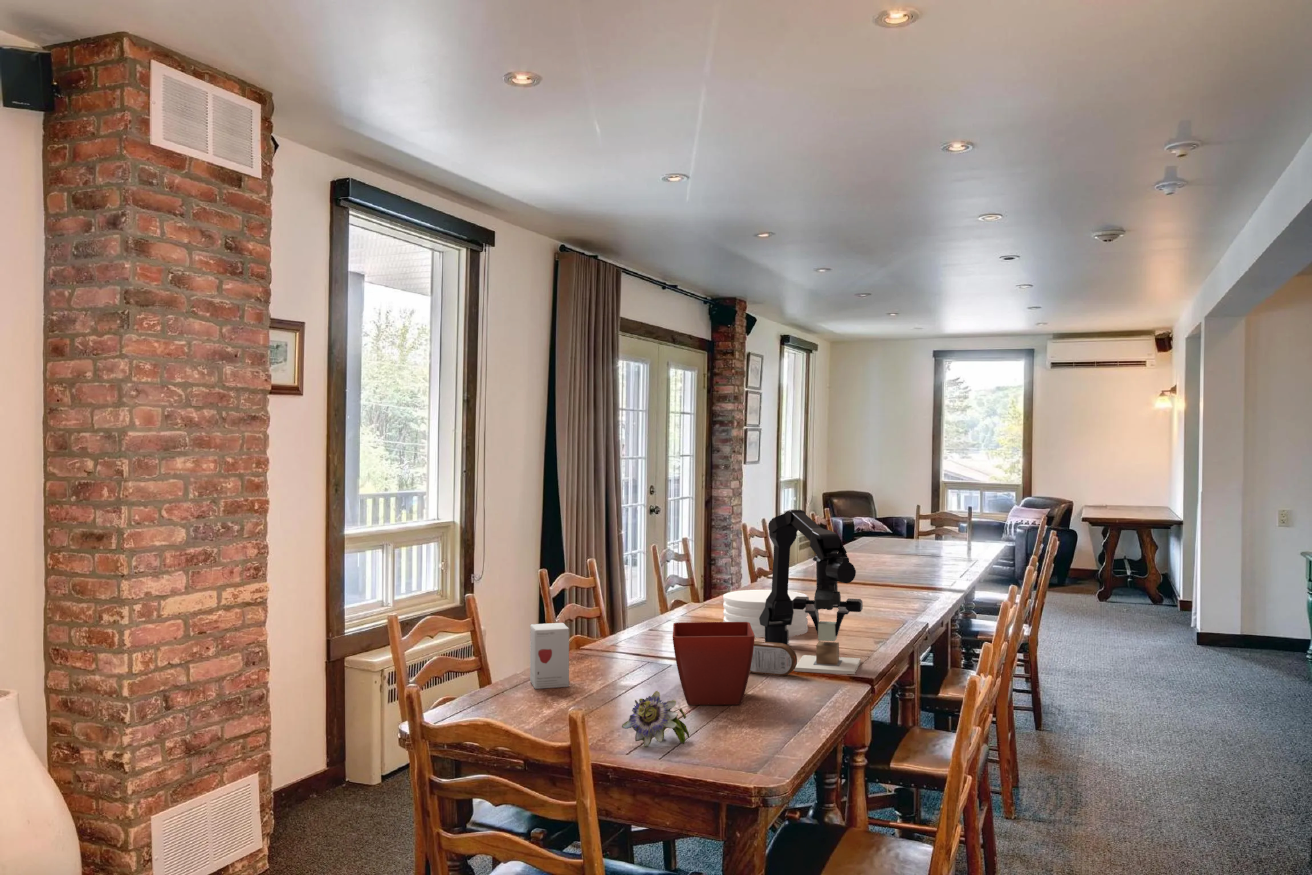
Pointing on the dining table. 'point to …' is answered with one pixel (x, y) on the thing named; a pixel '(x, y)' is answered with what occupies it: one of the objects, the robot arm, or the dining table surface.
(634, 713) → the passion flower
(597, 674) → the dining table surface
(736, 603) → the plate stack
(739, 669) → the plant pot
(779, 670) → the tin
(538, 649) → the supplement box
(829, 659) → the walnut block
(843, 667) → the off-white flat square slab
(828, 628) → the sage block
